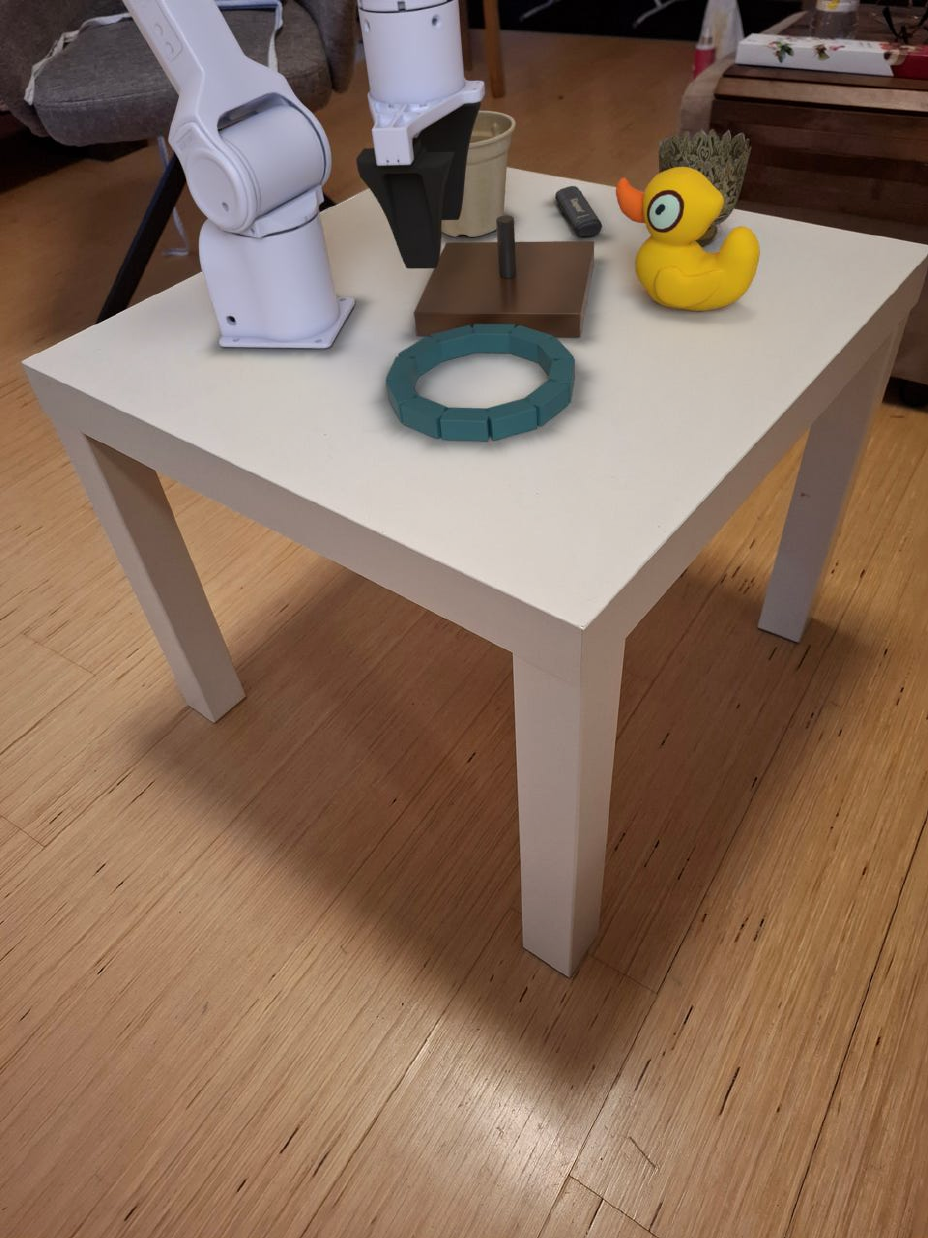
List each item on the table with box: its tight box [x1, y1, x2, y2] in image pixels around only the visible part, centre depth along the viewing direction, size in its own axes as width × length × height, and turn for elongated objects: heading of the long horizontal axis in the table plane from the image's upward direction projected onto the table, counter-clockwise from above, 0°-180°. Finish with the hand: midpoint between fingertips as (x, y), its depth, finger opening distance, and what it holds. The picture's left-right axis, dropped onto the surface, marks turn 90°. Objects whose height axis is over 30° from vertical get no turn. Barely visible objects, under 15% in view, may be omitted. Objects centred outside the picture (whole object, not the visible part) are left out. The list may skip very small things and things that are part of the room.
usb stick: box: [554, 185, 603, 238], centre depth 82 cm, size 10×3×2 cm, turn 8°
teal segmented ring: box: [385, 324, 576, 442], centre depth 63 cm, size 13×13×2 cm
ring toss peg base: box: [413, 214, 595, 338], centre depth 71 cm, size 13×13×6 cm
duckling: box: [615, 167, 761, 312], centre depth 66 cm, size 11×5×10 cm, turn 58°
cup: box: [658, 128, 752, 247], centre depth 75 cm, size 8×7×8 cm
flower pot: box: [441, 110, 516, 238], centre depth 81 cm, size 9×9×9 cm
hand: (434, 241), depth 59 cm, fingers open, 7 cm apart
